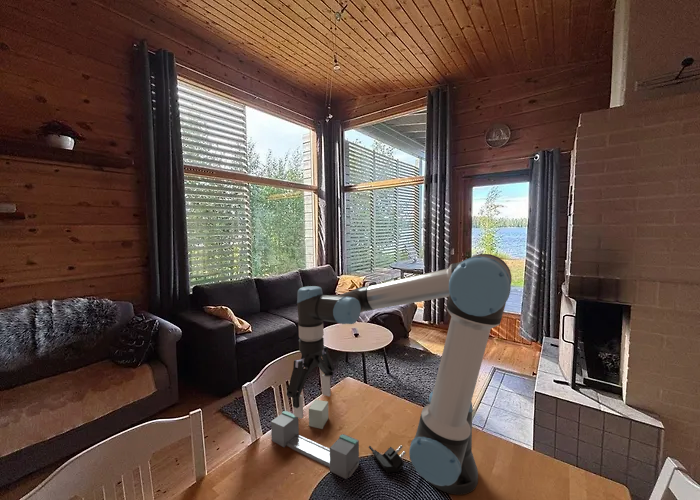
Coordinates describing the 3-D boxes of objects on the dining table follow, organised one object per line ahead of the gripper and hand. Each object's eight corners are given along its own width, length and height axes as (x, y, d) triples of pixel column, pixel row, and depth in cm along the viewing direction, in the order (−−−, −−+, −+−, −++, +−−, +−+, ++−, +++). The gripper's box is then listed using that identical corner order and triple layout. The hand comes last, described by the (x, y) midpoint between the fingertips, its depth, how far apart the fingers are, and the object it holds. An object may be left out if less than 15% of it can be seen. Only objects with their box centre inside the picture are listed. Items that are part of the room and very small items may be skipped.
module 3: (358, 462, 90) (358, 438, 90) (346, 479, 84) (345, 453, 84) (343, 455, 93) (343, 432, 93) (330, 471, 87) (329, 446, 87)
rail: (358, 465, 89) (358, 461, 89) (349, 477, 85) (349, 473, 85) (283, 431, 105) (283, 427, 105) (272, 439, 101) (272, 435, 101)
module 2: (328, 420, 111) (328, 401, 111) (322, 430, 105) (321, 411, 105) (315, 417, 112) (315, 399, 112) (309, 427, 107) (308, 408, 106)
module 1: (298, 435, 103) (298, 414, 102) (283, 448, 97) (283, 425, 96) (286, 429, 106) (286, 409, 105) (271, 441, 100) (271, 420, 99)
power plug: (364, 442, 94) (387, 468, 83) (382, 424, 97) (406, 447, 86) (371, 455, 95) (394, 482, 85) (388, 437, 98) (413, 461, 88)
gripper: (325, 325, 105) (327, 384, 106) (271, 349, 84) (274, 423, 85) (343, 328, 101) (345, 390, 102) (292, 354, 80) (295, 431, 81)
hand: (313, 405), depth 94 cm, fingers open, 13 cm apart
